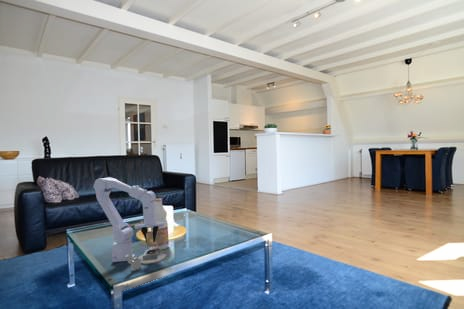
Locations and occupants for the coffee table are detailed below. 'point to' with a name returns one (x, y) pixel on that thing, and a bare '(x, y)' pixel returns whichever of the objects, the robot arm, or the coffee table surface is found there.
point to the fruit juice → (162, 232)
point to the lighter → (134, 262)
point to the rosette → (152, 256)
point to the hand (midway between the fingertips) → (150, 241)
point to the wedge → (150, 238)
